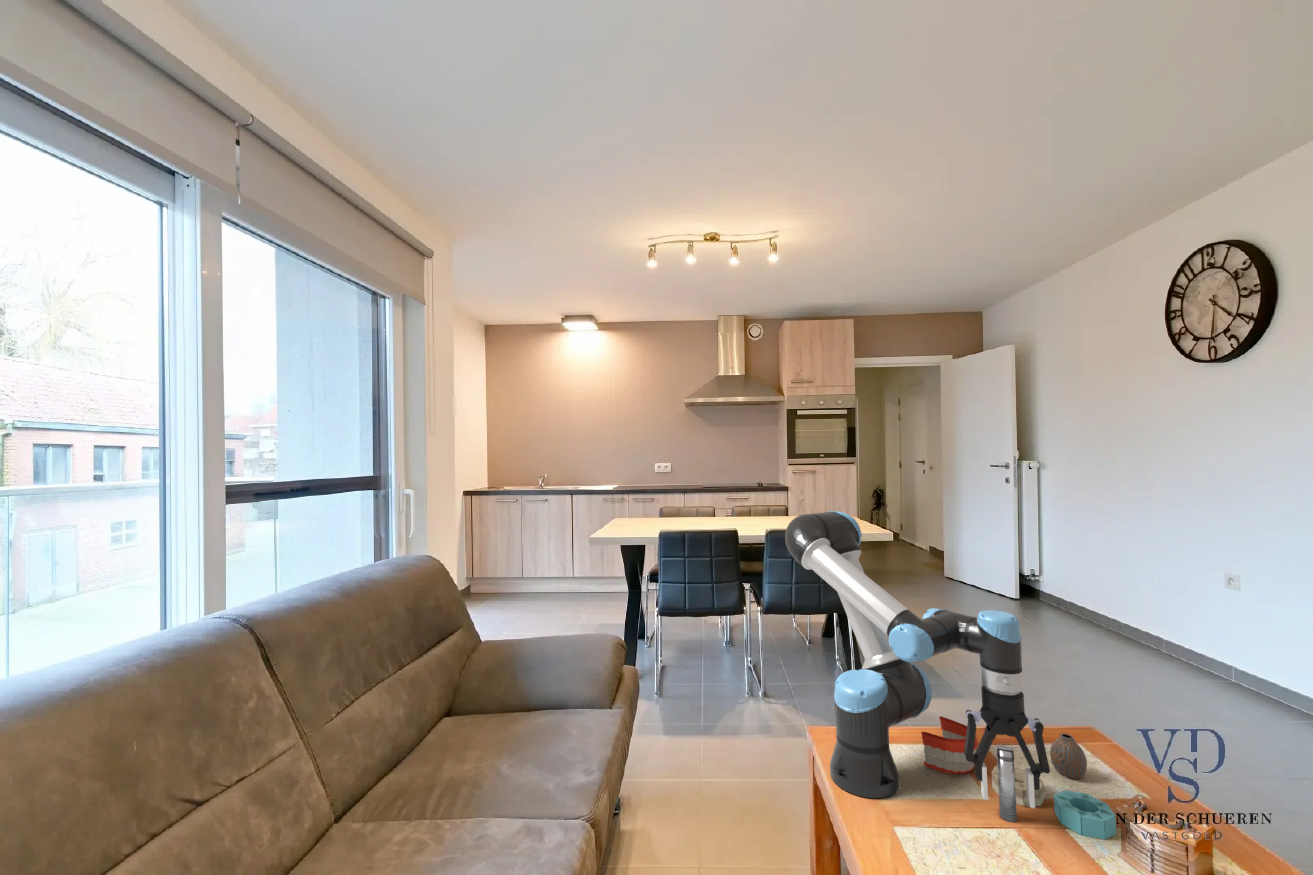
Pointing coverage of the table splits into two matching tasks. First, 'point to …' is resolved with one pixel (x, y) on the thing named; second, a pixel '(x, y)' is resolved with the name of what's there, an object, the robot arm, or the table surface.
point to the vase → (1068, 757)
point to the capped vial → (1006, 783)
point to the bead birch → (1020, 787)
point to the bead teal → (1085, 814)
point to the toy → (947, 748)
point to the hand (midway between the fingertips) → (1007, 799)
